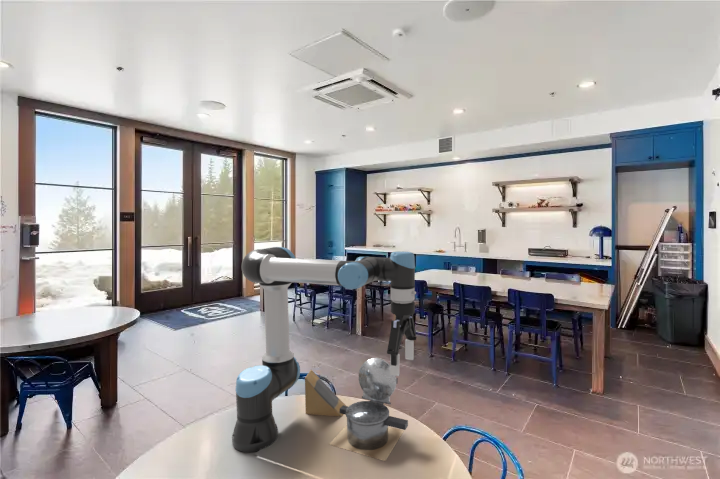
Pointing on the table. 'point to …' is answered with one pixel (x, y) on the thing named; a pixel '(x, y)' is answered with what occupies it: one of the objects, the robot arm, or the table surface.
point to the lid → (377, 380)
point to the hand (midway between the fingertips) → (402, 366)
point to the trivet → (376, 453)
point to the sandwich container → (320, 397)
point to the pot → (369, 424)
